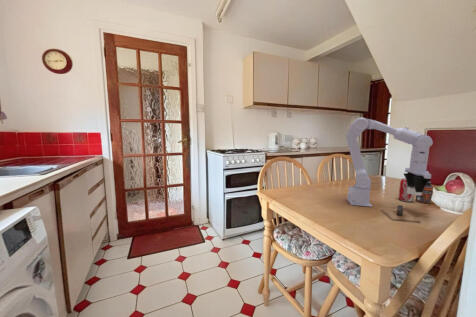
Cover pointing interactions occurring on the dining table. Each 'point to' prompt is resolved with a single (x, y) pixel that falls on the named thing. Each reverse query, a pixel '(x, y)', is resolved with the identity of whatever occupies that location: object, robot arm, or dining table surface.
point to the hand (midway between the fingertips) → (414, 190)
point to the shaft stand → (400, 215)
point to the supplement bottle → (425, 194)
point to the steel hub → (413, 191)
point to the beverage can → (404, 191)
